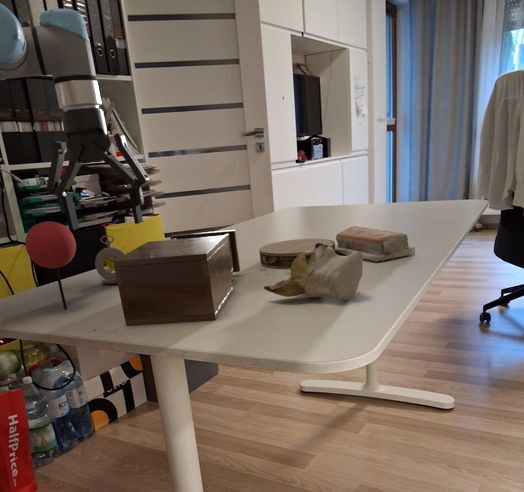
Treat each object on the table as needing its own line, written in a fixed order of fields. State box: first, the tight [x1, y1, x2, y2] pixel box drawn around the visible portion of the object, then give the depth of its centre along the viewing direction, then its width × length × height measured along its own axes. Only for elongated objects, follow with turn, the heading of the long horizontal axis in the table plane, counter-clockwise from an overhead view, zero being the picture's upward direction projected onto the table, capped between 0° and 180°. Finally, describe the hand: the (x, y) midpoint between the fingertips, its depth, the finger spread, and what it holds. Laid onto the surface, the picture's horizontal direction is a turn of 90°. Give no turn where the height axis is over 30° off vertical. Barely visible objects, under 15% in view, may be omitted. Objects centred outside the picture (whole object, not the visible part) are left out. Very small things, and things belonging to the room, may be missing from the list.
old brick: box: [335, 225, 416, 263], centre depth 109 cm, size 18×5×10 cm
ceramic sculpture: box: [263, 243, 364, 301], centre depth 81 cm, size 11×9×15 cm
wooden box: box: [113, 235, 234, 326], centre depth 83 cm, size 16×14×10 cm
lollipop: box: [24, 221, 77, 310], centre depth 89 cm, size 8×8×15 cm
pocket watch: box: [94, 234, 126, 285], centre depth 106 cm, size 8×8×10 cm
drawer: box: [169, 229, 241, 276], centre depth 97 cm, size 20×13×8 cm, turn 173°
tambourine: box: [258, 238, 336, 269], centre depth 110 cm, size 16×16×3 cm
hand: (106, 226), depth 104 cm, fingers open, 13 cm apart
